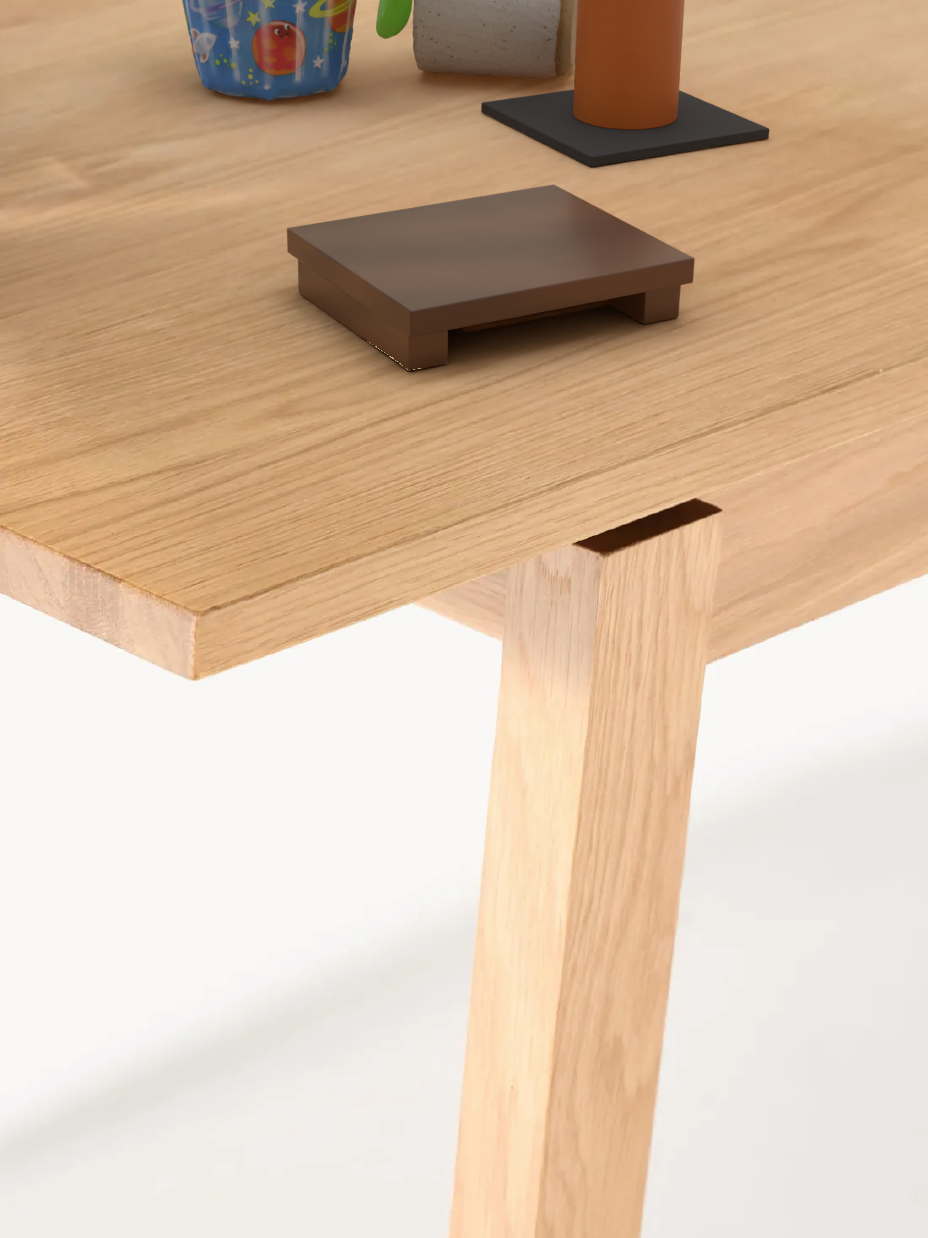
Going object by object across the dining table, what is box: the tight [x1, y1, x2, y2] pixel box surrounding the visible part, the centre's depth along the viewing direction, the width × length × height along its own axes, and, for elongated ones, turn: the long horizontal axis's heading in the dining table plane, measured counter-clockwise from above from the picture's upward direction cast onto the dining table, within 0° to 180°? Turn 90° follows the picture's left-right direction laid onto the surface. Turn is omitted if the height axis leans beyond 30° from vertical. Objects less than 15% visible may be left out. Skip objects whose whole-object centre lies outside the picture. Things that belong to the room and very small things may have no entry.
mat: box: [480, 88, 770, 168], centre depth 104 cm, size 10×10×1 cm
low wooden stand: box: [286, 184, 696, 370], centre depth 82 cm, size 10×12×2 cm
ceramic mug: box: [412, 0, 577, 79], centre depth 112 cm, size 11×8×8 cm
